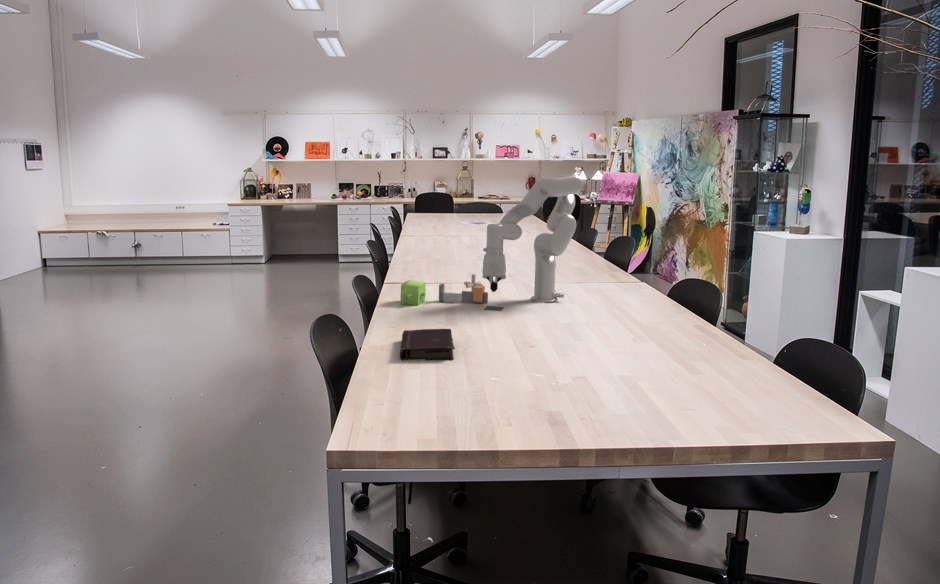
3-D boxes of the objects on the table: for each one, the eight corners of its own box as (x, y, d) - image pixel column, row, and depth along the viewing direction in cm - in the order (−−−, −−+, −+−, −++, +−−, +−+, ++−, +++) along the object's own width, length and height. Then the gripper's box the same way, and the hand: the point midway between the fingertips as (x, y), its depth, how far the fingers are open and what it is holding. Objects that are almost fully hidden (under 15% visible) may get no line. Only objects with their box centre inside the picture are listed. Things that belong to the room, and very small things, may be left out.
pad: (504, 307, 315) (504, 307, 315) (501, 311, 307) (501, 310, 307) (486, 306, 317) (486, 305, 317) (483, 310, 309) (483, 309, 309)
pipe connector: (475, 297, 336) (475, 277, 335) (458, 295, 342) (459, 274, 340) (487, 294, 344) (487, 274, 342) (471, 292, 350) (471, 272, 348)
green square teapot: (417, 309, 313) (418, 288, 311) (396, 306, 315) (397, 286, 313) (430, 300, 330) (430, 280, 328) (410, 298, 332) (410, 278, 330)
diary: (399, 362, 234) (399, 348, 233) (402, 342, 258) (402, 329, 257) (456, 361, 235) (456, 346, 234) (453, 341, 259) (453, 328, 258)
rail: (488, 302, 325) (488, 285, 324) (486, 305, 320) (486, 287, 319) (441, 300, 330) (441, 283, 329) (438, 302, 325) (438, 285, 324)
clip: (484, 299, 326) (484, 285, 324) (481, 301, 320) (482, 288, 319) (476, 298, 327) (476, 285, 325) (473, 301, 321) (473, 287, 320)
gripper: (476, 251, 315) (476, 291, 319) (509, 253, 312) (508, 293, 316) (480, 249, 323) (479, 288, 326) (512, 250, 319) (511, 290, 323)
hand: (493, 291), depth 321 cm, fingers closed
